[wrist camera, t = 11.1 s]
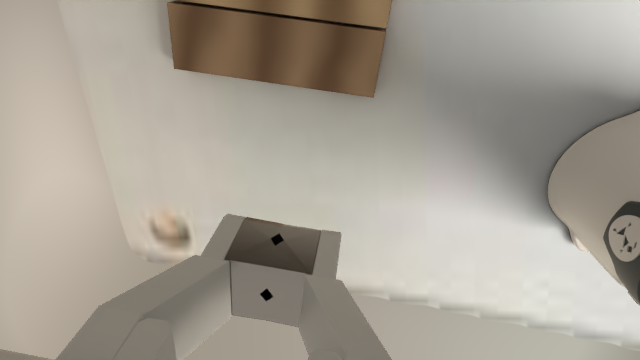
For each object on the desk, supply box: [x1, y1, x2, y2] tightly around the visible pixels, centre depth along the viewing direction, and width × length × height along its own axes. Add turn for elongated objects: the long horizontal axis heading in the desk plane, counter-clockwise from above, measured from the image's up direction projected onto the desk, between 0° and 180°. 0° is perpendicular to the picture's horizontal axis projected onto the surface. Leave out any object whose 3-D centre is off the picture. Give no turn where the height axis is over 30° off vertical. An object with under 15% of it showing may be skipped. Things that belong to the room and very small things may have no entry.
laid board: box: [167, 1, 386, 98], centre depth 35 cm, size 20×6×2 cm, turn 84°
